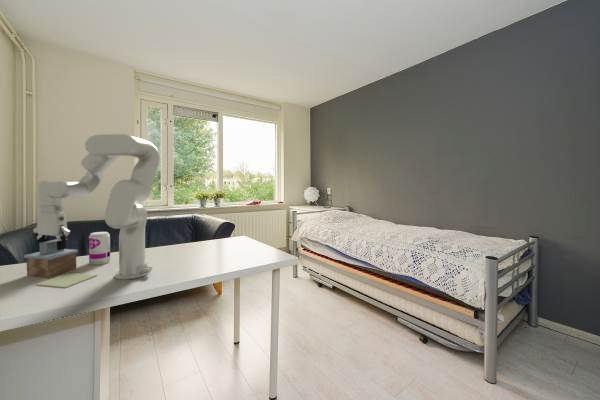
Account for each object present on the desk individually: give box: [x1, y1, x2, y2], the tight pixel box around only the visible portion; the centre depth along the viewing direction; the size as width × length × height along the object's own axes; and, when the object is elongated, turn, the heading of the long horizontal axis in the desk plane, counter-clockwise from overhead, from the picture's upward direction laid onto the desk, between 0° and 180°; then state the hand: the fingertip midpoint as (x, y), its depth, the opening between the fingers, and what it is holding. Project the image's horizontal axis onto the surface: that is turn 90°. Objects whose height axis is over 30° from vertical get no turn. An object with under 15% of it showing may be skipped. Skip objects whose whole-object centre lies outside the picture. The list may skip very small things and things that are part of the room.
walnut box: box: [26, 252, 77, 279], centre depth 111 cm, size 11×11×8 cm
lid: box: [23, 238, 79, 260], centre depth 111 cm, size 12×12×7 cm
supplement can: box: [88, 231, 111, 266], centre depth 126 cm, size 8×8×15 cm
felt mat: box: [35, 272, 97, 289], centre depth 104 cm, size 13×13×1 cm
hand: (52, 248), depth 110 cm, fingers open, 8 cm apart
